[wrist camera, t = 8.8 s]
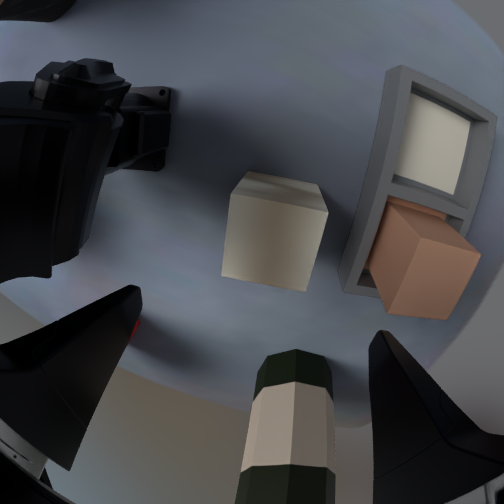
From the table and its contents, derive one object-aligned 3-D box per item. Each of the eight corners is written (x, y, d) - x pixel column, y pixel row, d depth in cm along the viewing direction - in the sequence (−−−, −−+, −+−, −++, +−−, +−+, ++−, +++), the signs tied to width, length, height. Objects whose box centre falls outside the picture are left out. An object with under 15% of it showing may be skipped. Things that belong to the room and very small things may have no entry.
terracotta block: (366, 262, 20) (386, 313, 14) (386, 201, 17) (420, 237, 12) (418, 272, 19) (446, 320, 14) (440, 217, 17) (481, 254, 12)
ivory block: (238, 233, 21) (221, 275, 16) (247, 170, 19) (230, 193, 14) (302, 246, 21) (305, 292, 16) (317, 184, 19) (328, 212, 13)
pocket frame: (337, 270, 21) (342, 292, 19) (386, 71, 14) (401, 64, 11) (420, 285, 21) (432, 306, 18) (475, 113, 13) (497, 116, 11)
